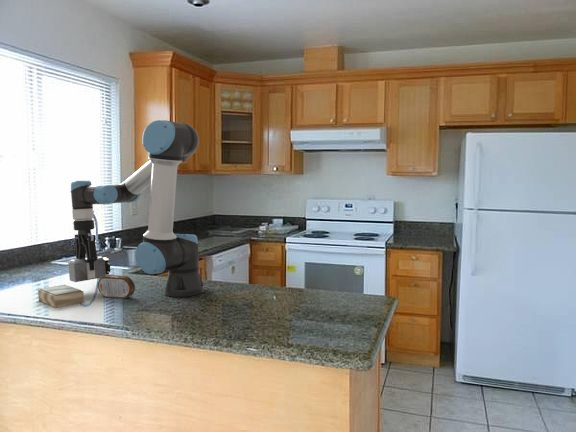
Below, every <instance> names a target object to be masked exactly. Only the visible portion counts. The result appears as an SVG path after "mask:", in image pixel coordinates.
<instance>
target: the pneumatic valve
mask: <svg viewBox="0 0 576 432" xmlns="http://www.w3.org/2000/svg"><path fill="white" fill-rule="evenodd" d="M99 257H103V256H99ZM103 259H105V270H106V275H110V272H111V264H110V263H109V262H110V258H107V257H103ZM100 279H101V278H97V280H98V281H99V280H100ZM98 281H97V282H98Z"/></svg>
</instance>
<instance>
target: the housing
mask: <svg viewBox="0 0 576 432" xmlns="http://www.w3.org/2000/svg"><path fill="white" fill-rule="evenodd" d="M86 261H88V260H87V257H86V258H82V259H78V258H76V257H75V258H73V259H70V260H69V262H68V265H67V266H68V275H69V277H68V278H69V281H71V282H74V283H79V282H84V281H90V280H98V278H102V277H104V276H106V270H105V259H103V256H102V257H100V256H99V255H97V260H96V261H95V262H94V265H95V278H93V279H88V274H87V263H86Z"/></svg>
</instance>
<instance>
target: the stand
mask: <svg viewBox="0 0 576 432" xmlns="http://www.w3.org/2000/svg"><path fill="white" fill-rule="evenodd" d="M37 293H38V301H39V302H42V303H44V304H46V305H48V306H51V307H53V308H55V309H56V308H61V307H66V306H71V305H77V304H81V303H85V297H84V296H85V295H84V294H85V293H84V291H83V290H81V289H79V288H77V287H72V286H70V285H66V284H60V285H55V286H54V285H53V286H49V287H42V288H39V289H38V290H37Z"/></svg>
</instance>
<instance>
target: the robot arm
mask: <svg viewBox="0 0 576 432" xmlns="http://www.w3.org/2000/svg"><path fill="white" fill-rule="evenodd" d="M141 138H142V140H141V141H142V143H141V144H142V147H144V149H145V151H146V152H147V153H148V154H147V156H148V157H147V159H148V161H147V162H146V163H144V164H143V165H142V166H141V167H140V168H139V169H137V170H136V171H135V172H134V173H133V174H132V175H130V176H129V177H128V178H126V179H125V180H124V181H122V183H118V184H116V183H115V184H114V183H113V184H111V183H109V184H107V183H102V184H93V185H92V182H91V180H74V181H73V180H72V181H71V183H70V194H71V196H70V197H71V207H72V209H71V211H72V220H73V223H72V224H73V230H74V231H77V234H74V240H75V259H76V258H78V259H82V258H87V260H88V261H86V263H87V274H88V279H91V280H94V279H93V278H95V265H94V262H95V261H96V260H97V256H98V255H97V246H96V245H97V244H96V235H94V234H93V235H92V231H91V230H94V229H95V220H94V213H95V211H94V205H111V204H119V203H120V204H121V203H123V204H124V203H126V204H127V203H133V202H137V201H138V200H140V199H139V198H140V197H141V195H142V194H141V193H142V192H143V191H144V190H146V189H147V188H148V187H149V186H150V196H149V212H148V226H147V230H146V231H145V233H143V235H142V242H141V243H139V244H138V246H137V247H136V248H135V251H134V258H135V261H136V262H135V263H136V264H137V266H138V267H139V268H140V270H142V271H143V272H144V273H146V274H149V275H155V274H162V273H163V272H164V273H165V272H167V278H166V281H165V285H164V288H163V289H164V290H163V291H164V295H165V296H168V297H174V298H180V297H181V298H182V297H183V298H185V297H193V296H198V295H201V294H203V293H204V292H205V286H204V282H203V279H202V277H201V274H200V267H199V242H198V241H199V240H198V236H197V235H196V234H191V233H190V234H189V233H174V231H173V229H174V218H175V217H174V216H175V206H176V205H175V203H176V190H177V175H178V166H179V165H180V164H181V163H184V162H186V161H187V160H188V159H189V158H191V157H192V156H193V155H194V154H195V153H196V151H197V149H198V148H199V145H200V137H199V134H198V132H197V130H196V129H195V128H194V126H192V125H190V124H188V123H184V122H177V121H172V120H171V121H170V120H161V119H159V120H158V119H157V120H153V121H151V122H150V123H149V124H148V125H147V126H146V127H145V128H144V131H143V133H142V137H141Z"/></svg>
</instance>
